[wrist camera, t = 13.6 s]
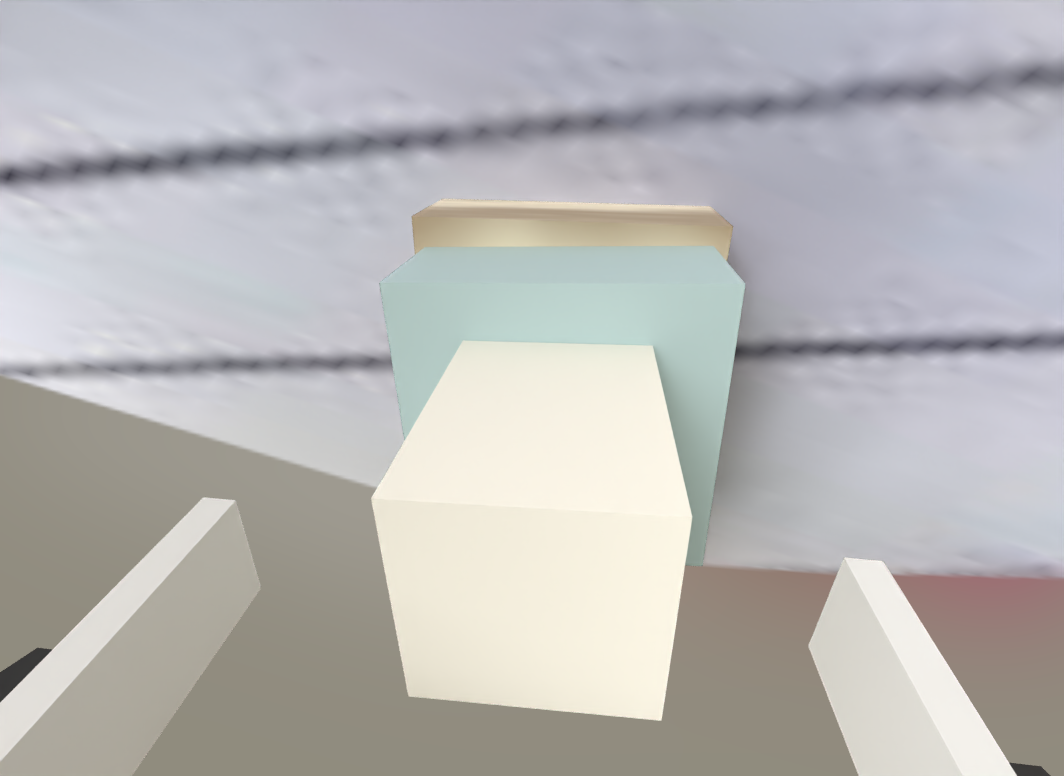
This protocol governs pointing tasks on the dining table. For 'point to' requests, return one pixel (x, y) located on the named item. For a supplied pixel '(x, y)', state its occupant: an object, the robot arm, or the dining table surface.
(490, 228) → the tower base slab
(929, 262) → the dining table surface
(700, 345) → the tower top slab
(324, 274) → the dining table surface
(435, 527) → the cream block
